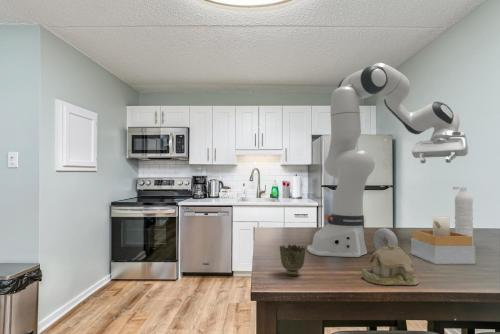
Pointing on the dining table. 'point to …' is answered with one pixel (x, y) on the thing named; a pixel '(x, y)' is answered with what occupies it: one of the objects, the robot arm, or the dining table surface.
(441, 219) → the spout can
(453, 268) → the dining table surface
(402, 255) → the ceramic model
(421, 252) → the white orange open box
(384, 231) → the donut
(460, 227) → the water bottle
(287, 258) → the cup
